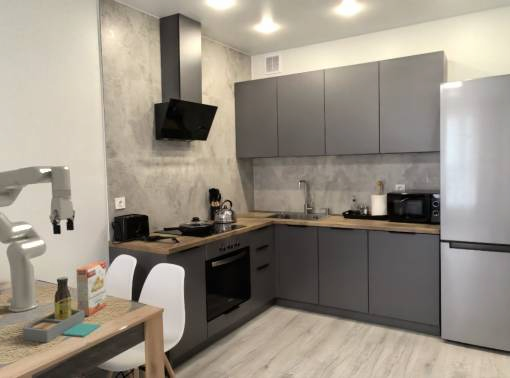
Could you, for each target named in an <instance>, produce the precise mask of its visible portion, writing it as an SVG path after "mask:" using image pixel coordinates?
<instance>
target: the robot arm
mask: <svg viewBox="0 0 510 378" xmlns="http://www.w3.org/2000/svg"><path fill="white" fill-rule="evenodd" d="M49 183H50V184H51V196H52V197H51V202H50V215H48V216H49V217H48V218H49V220H50V223H51V225H52V234H53V235H61V234H62V229H61V224H60V223H61V221H63V220H66V222H65V223H66V225H65V226H66V230H67V231H74V230H75V226H74V225H75V223H74V221H75V217H76V216H75V215H76V211H75V210H74V205H73V200H72V190H71V189H72V188H71V185H72V184H71V173H70V167H69V166H67V165H66V166H65V165H58V166H57V165H56V166H54V165H53V166H52V165H49V166H48V165H37V166H34V165H33V166H27V167H23V168H22V167H21V168H18V169H14V170H13V169H12V170H6V171H0V208H6V207H9V206H11V205H12V204H14V202H15V201H16V200H17V198H18V197H19V195H20V194H21V192H22V190H23V188H26V187H27V186H28V185H36V184H49ZM0 242H1V244H4V245H8V244H9V245H8V246H7V247H6V252H5V253H6V257H7V260H8V265H9V272H10V273H9V274H10V285H11V289H10V291H11V296H10V297H8V298H7V299H6V303H8V304H9V303H10V305H9V306H8V311H10V312H12V313H13V312H14V313H18V312H27V311H29V310H34V309H36V308H38V307H39V306H40V305H41V304H40V303H41V302H40V300H37V299H36V284H35V283H36V282H35V280H36V279H35V267H34V265H33V264H32V262H31V261H30V260H31V259H34V258H38V257H41V256H43V255H44V254H45V253H46V251H47V243H46V241H45V239H44V238H43V237H42V235H40V234H39V232H38V231H37V230H36V228H35V227H34V226H33V225H32V224H31V223H30V222H27V221H23V220H22V221H15V222H13V221H11V220H10V219H9V218H8V217H7V216H6V214H4V213H3V212H1V211H0Z"/></svg>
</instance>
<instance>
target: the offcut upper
mask: <svg viewBox="0 0 510 378" xmlns="http://www.w3.org/2000/svg"><path fill="white" fill-rule="evenodd" d="M54 325H56V324H55V323H46V322H42V323H40V324H38V325H36V326H34V327H32V328H36V329H46V330H47V329H49V328H51V327H52V326H54Z"/></svg>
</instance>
